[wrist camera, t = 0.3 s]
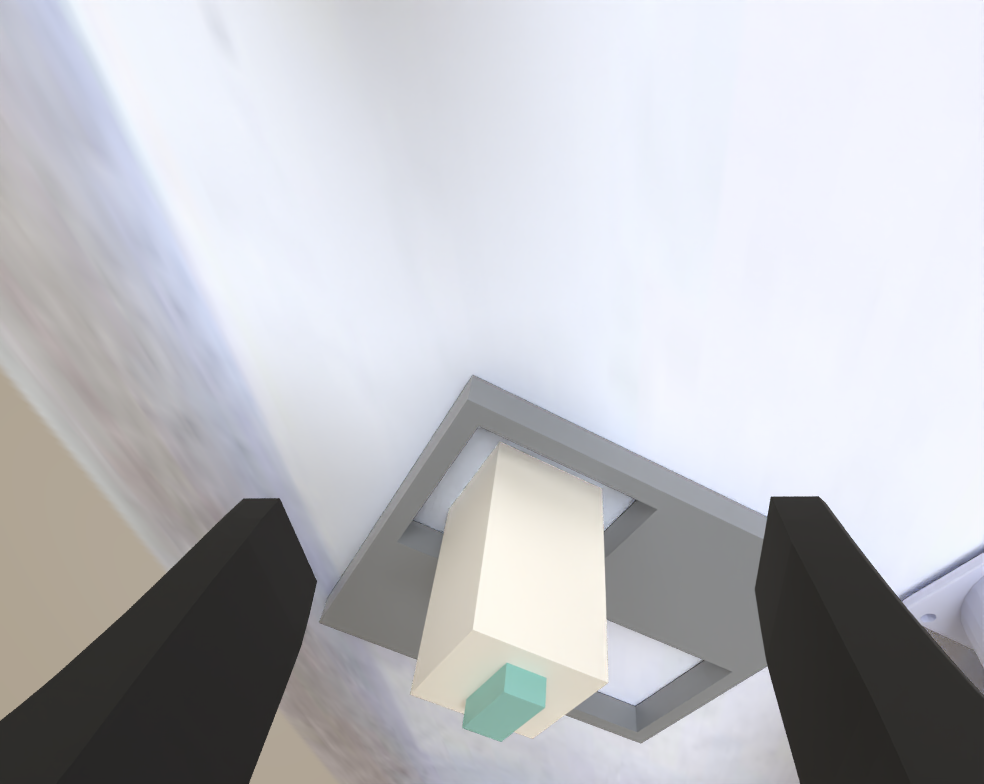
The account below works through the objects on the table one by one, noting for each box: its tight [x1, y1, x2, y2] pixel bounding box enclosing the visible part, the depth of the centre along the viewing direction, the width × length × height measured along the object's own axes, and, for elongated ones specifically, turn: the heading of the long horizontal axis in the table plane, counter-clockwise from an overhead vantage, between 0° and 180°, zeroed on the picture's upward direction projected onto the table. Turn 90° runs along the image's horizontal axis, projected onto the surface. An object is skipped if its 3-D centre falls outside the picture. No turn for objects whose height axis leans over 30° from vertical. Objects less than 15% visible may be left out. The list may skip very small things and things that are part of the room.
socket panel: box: [319, 375, 767, 743], centre depth 26 cm, size 16×14×1 cm
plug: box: [410, 442, 608, 742], centre depth 21 cm, size 4×4×8 cm
